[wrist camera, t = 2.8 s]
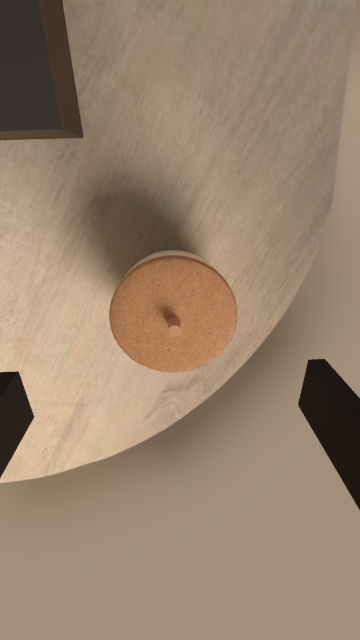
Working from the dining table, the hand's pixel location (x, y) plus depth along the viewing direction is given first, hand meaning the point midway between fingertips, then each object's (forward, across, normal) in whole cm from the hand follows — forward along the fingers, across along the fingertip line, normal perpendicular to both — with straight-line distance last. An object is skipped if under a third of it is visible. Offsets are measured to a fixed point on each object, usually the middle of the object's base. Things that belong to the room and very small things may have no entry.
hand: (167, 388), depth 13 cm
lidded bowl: (+18, +1, -2) cm, 19 cm away
